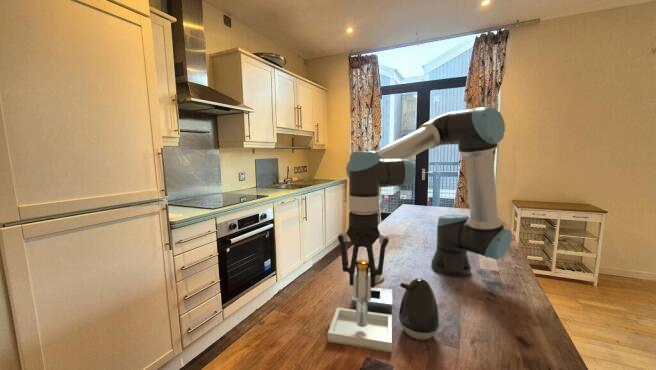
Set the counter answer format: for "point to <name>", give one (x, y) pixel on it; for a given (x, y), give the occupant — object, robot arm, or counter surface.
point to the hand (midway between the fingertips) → (362, 297)
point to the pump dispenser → (419, 310)
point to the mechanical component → (378, 276)
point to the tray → (361, 330)
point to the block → (378, 301)
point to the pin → (362, 293)
